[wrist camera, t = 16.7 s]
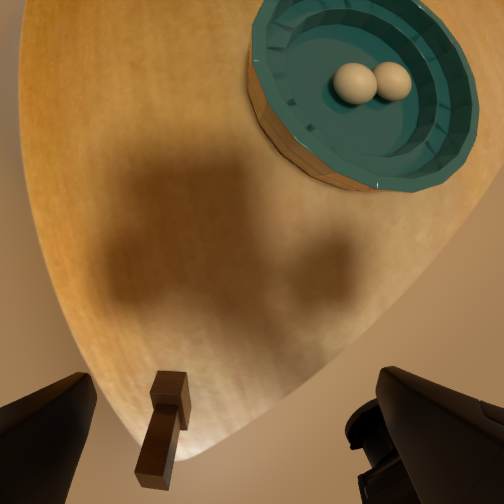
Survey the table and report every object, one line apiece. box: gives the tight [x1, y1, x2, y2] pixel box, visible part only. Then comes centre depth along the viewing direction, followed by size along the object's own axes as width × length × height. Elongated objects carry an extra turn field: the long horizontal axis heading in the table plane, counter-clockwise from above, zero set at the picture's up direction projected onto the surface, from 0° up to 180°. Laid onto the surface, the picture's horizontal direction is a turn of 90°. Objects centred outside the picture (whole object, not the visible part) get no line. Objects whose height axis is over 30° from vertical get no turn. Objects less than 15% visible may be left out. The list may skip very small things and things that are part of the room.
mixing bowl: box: [248, 0, 479, 193], centre depth 16 cm, size 16×16×6 cm
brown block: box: [134, 371, 191, 491], centre depth 17 cm, size 4×2×10 cm, turn 0°
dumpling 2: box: [372, 62, 412, 101], centre depth 16 cm, size 3×3×3 cm
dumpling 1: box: [333, 63, 377, 104], centre depth 16 cm, size 3×3×3 cm
